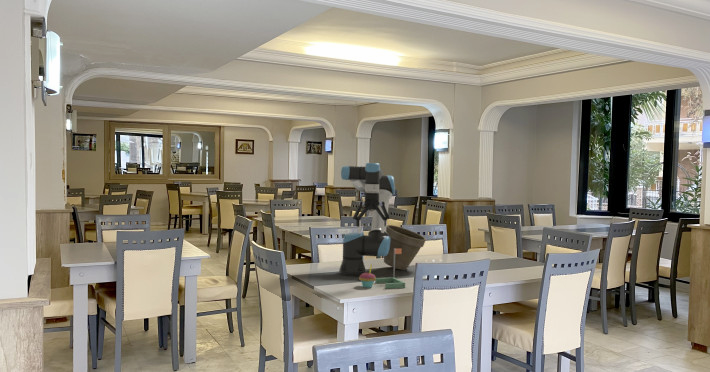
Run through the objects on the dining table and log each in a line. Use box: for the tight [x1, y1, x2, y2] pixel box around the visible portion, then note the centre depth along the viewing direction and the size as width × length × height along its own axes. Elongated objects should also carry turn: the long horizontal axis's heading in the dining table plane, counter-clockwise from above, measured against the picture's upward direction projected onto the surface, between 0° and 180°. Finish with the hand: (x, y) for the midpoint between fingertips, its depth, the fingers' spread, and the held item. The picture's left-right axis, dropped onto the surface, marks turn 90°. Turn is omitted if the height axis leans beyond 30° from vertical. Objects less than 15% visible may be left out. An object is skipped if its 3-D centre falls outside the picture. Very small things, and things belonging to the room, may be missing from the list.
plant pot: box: [383, 224, 427, 271], centre depth 338 cm, size 25×25×22 cm
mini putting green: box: [374, 248, 406, 290], centre depth 292 cm, size 15×16×18 cm
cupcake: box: [358, 263, 377, 288], centre depth 287 cm, size 9×8×12 cm
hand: (370, 232), depth 295 cm, fingers open, 12 cm apart
